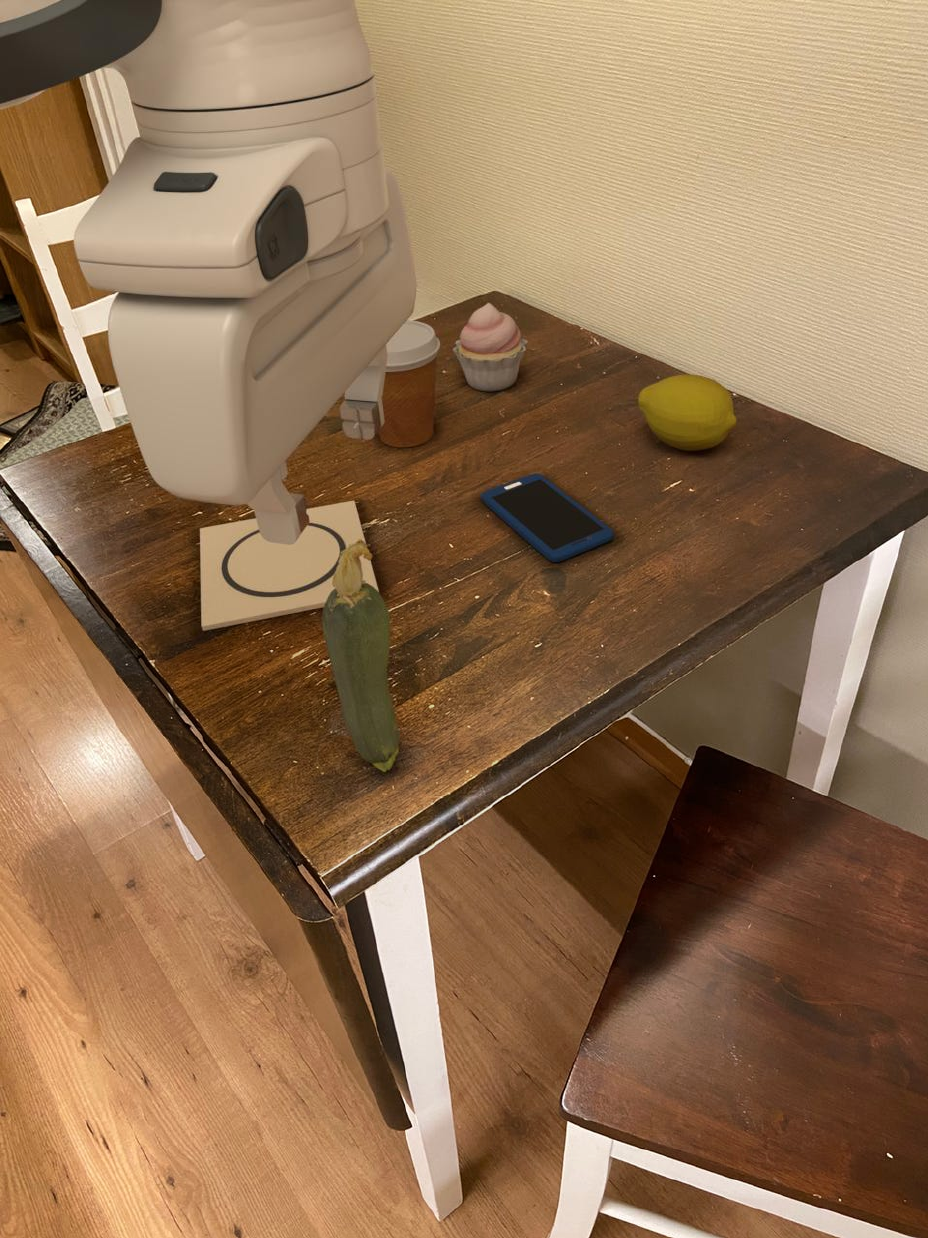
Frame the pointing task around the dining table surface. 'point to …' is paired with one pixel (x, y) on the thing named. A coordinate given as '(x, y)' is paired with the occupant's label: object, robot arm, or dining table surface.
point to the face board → (274, 567)
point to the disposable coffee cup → (409, 386)
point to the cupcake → (490, 350)
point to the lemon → (688, 411)
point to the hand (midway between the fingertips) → (329, 479)
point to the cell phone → (547, 517)
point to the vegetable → (361, 658)
